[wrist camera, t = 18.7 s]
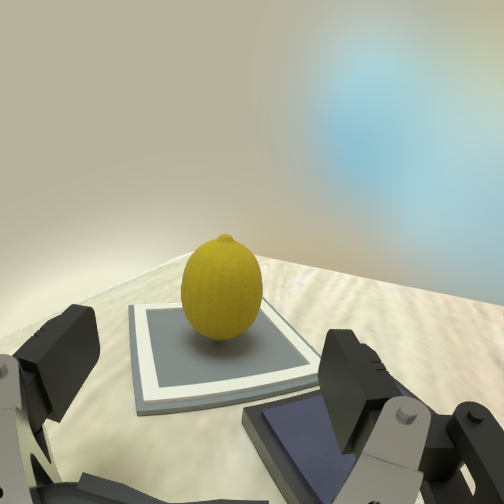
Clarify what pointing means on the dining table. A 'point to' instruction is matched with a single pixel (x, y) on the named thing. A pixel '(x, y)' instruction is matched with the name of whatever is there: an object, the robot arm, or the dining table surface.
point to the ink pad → (301, 446)
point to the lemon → (221, 289)
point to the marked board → (213, 361)
